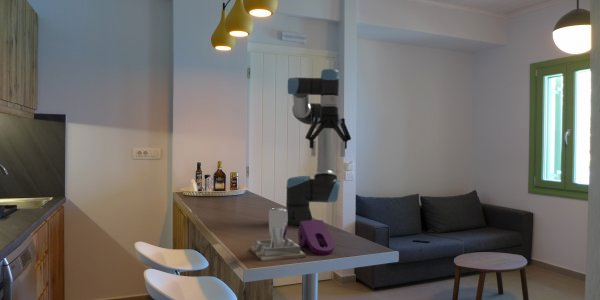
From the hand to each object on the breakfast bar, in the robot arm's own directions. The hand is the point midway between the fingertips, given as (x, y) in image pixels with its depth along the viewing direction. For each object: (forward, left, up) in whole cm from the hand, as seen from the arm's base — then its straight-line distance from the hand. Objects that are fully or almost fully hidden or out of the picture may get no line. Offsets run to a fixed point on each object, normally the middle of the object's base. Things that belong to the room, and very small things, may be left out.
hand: (328, 156), depth 172 cm
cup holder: (+16, -27, -35) cm, 47 cm away
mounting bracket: (+14, -10, -35) cm, 39 cm away
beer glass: (+16, -27, -34) cm, 46 cm away
